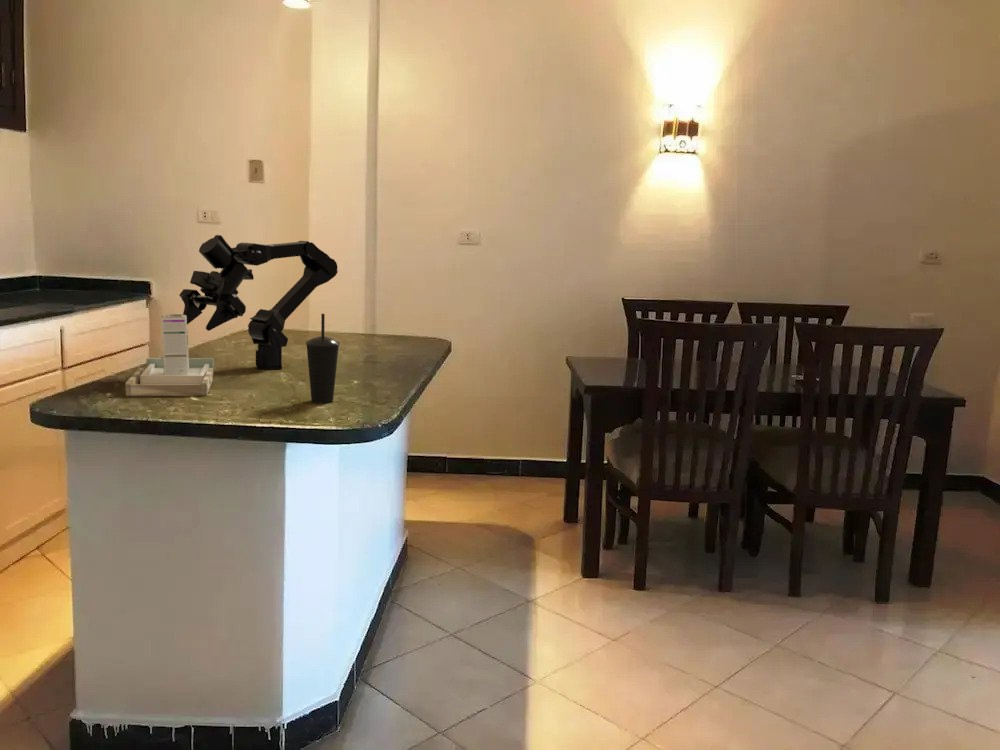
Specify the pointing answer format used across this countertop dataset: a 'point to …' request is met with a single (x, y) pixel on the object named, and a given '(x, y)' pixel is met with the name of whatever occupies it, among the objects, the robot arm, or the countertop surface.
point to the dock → (167, 387)
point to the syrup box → (175, 344)
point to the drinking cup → (322, 366)
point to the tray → (156, 375)
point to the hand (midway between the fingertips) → (194, 327)
